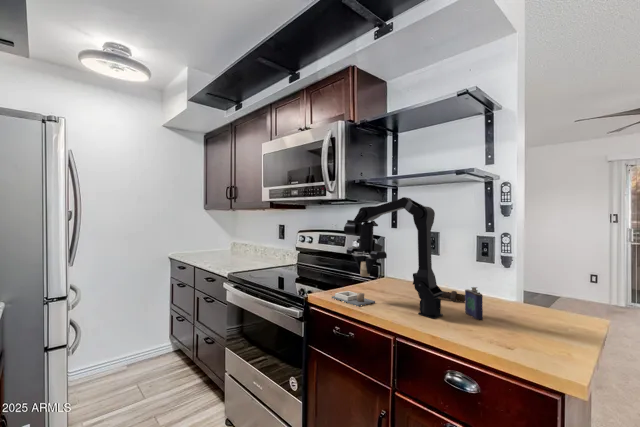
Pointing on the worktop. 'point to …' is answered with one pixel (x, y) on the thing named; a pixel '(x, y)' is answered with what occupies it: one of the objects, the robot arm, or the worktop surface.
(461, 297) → the bolt
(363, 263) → the beige rounded cylinder
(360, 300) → the board
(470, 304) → the flask
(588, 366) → the worktop surface
